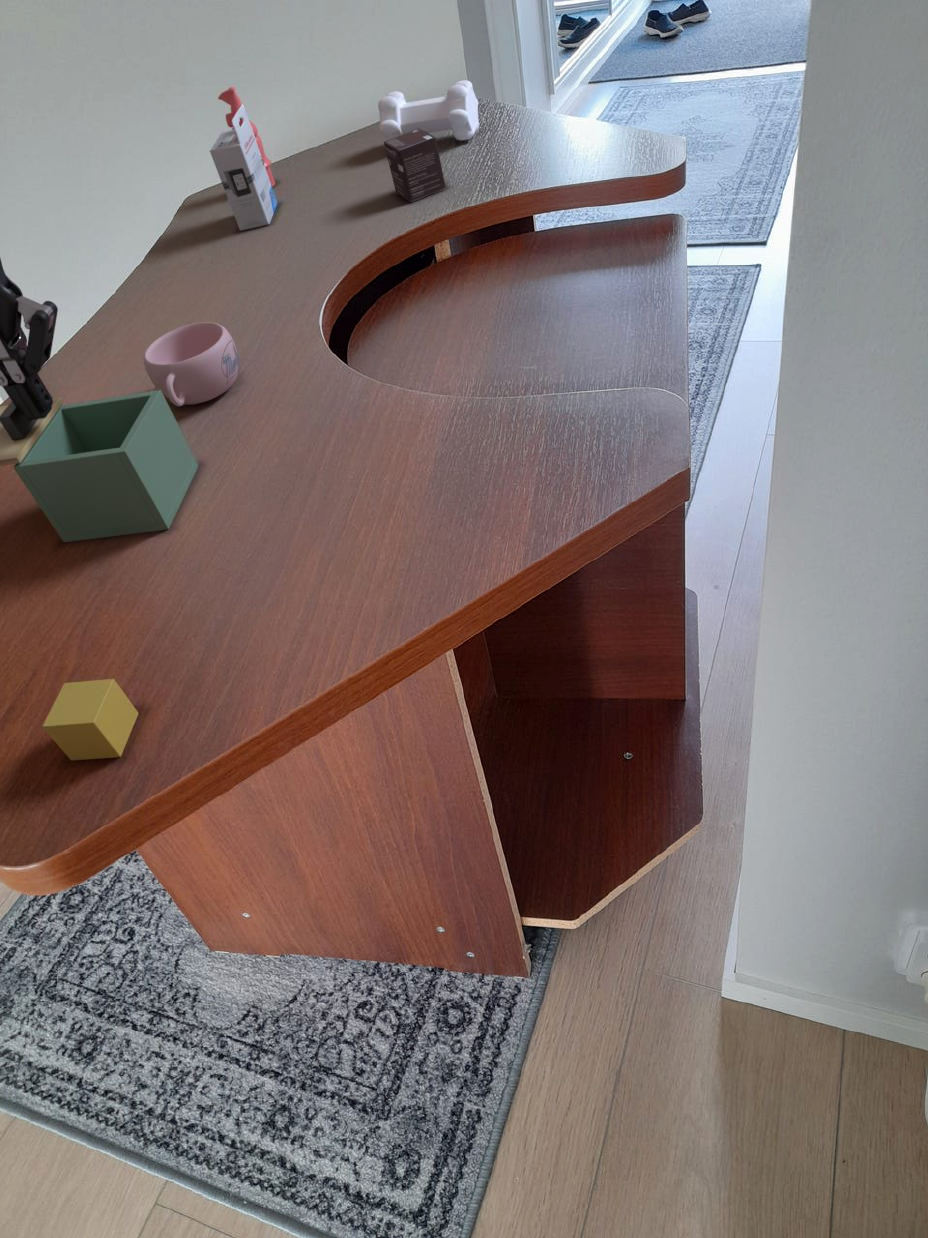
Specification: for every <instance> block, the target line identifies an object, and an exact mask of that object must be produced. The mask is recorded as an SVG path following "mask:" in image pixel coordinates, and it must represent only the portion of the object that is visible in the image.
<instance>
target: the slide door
mask: <svg viewBox="0 0 928 1238" xmlns="http://www.w3.org/2000/svg"><path fill="white" fill-rule="evenodd" d="M52 400H53V404H52V410H51V411H50V412H49V414H48V415H47V417H46V418H42V419H36V420H28V419H27V417H26V416H25V415H22V414H21V413H20V412H19V411H18V410H17V408H16V407H15V405H14V404H13V402H12V400H11V401H10V403H9V404H7V405H0V467H4V466H9V465H15V464H17V463H21V461H22V460H23V459H24V457H25V456H26V454H27V453H28V452H29V450H30V449H31V447H32V446H33V445H34V443H35V442H36V440H37V439H38V437H39V436H40V435H41V433H42V432H43V430H44V429H45V428H46V426H47V425H48V423H49V422H50V421H51V419H52V418H53V416H54V415H55V413H56V412H57V411H58V409H59V408H60V406H62V405H64V400H63V398H62V397H61V396H56V397H52Z"/></svg>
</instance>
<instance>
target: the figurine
mask: <svg viewBox="0 0 928 1238" xmlns="http://www.w3.org/2000/svg"><path fill="white" fill-rule="evenodd" d="M217 99H218V100H219V101H220V100H221V101H223V102H224V103H225V104H227V105H229V106H230V112H228V113H225V120H226V124H227V126H228V127H229V128H231V130H233V129H234V128H233V125H232V119H233V117H234V116H235V114H236V112H237V111H238V109H239V108H240V106H241V104H243V103H242V101H241V99H240V97H239V96H238V93H237V92H236V88H235V87H234V86H230V87H229V88H228V89H226V90H225V91H223V92H221V93H220V94H219V96H218V97H217ZM249 121H250V124H251V127H252V130H253V133H254V136H255V139H256V142H257V145H258V148H259V150H260V153H261V156H262V159H263V162H264V165H265V168H266V171H267V174H268V177H269V180H270V183H271V186H272V188H273V187H274V186H275V185H276V181H275V178H274V175H273V173H272V169H271V165H272V160H270V159H269V158H268V157H267V154H266V153H265V149H264V146H263V145H264V144H263V141H262V138H261V137H260V135H259V134H258V132H259V131H258V128H257V125H256V124H255V123H254V122H252V121H251V120H250V119H249ZM242 124H243V120H242V118H241V119H240V122H239V125H240V127H241V125H242Z"/></svg>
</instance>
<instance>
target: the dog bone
mask: <svg viewBox="0 0 928 1238" xmlns="http://www.w3.org/2000/svg"><path fill="white" fill-rule="evenodd" d="M377 107H378V112H379V113H378V114H379V128H378V129H379V131H380V133H381V134H382V136H383V138H384V141H387V140H390V139H392V138H395V137H398V136H400V135H403V134H406V133H408V132H411V131H413V130H416V129H421V130H423V131H426V132H428V133H429V134H430V133H434V132H442V131H448V130H452V132H453V136H454V138H455V140H458V141H467V140H470V139H472V138H473V137H474V135H475V134H476V133H477V132H478V131H479V129H480V122H479V108H478V107H479V99H478V98H477V96H476V94H475V91H474V88H473V83H472V82H471V81H470V80H467V79H464V80H458V81H456V82H454V83H453V85H451V86H450V87H449V88H448V89H447V91H446V95H445V96H440V97H433V98H427V99H421V100H414V101H408V102H407V100H406V98H405V95H404V94H403V92H401V91H391V92H389V93H387V94H385V96H383V97H382V98H381V99H379V101H378V103H377Z"/></svg>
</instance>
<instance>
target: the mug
mask: <svg viewBox="0 0 928 1238" xmlns="http://www.w3.org/2000/svg"><path fill="white" fill-rule="evenodd" d="M143 365H144V368H145V372H146V374H147V376H148V377H149V379H150V381H151V383H152V385H153V386H154V387H155V388H156V389H157V390H161V391H162V393H163V395H164V397H165V398H167V399H169V400H170V402H171V403H172V404H173V405H174V406H177V407H182V406H185V405H186V406H187V405H188V406H189V405H197V404H198V405H199V404H201V403H205V402H209V401H211V400H213V399H215V398H217V397H219V396H221V395H223V394H224V393H226V392H227V391H228V390H230V389H231V387H232V386H234V384H235V382H236V380H237V377H238V375H239V355H238V350H237V346H236V343H235V341H234V339H233V337H232V335H231V334H230V332H229V331H228V330H227V328H226V327H225V326H223V325H222V324H219V323H216V322H212V321H203V322H194V323H189V324H186V325H183V326H179V327H177V328H174V329H173V330H170V331H168V332H166V333H164V334H162V335H161V336H159V337H158V338H157V339H155V340H154V341H153V342H151V344H150V345H149V346H148V347H147V348H146V350H145V352H144V355H143Z"/></svg>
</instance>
